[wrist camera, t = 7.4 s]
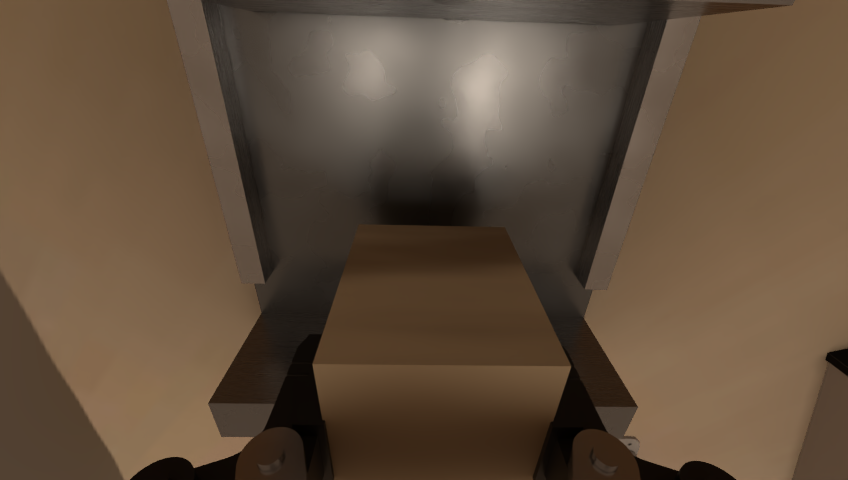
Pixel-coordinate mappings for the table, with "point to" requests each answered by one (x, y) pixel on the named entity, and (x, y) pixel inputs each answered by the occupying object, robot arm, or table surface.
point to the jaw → (515, 9)
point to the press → (422, 159)
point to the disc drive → (828, 426)
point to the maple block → (437, 358)
